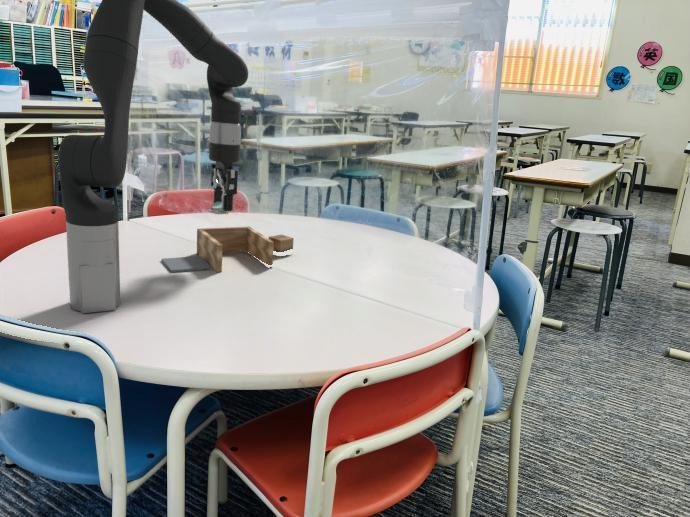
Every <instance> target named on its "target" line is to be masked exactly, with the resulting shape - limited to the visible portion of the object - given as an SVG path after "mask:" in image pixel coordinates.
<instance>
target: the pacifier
mask: <svg viewBox="0 0 690 517" xmlns="http://www.w3.org/2000/svg"><path fill="white" fill-rule="evenodd" d="M223 196H224V195H223V193H222V202H215V203H214V202H213V203H212V207H211V208H209V209H207V211H208V212H209V213H210V214H214V215H229V213H230V211H224V210H223ZM235 209H236V208H235V207H234V206H233V208H232V211H235Z"/></svg>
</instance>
